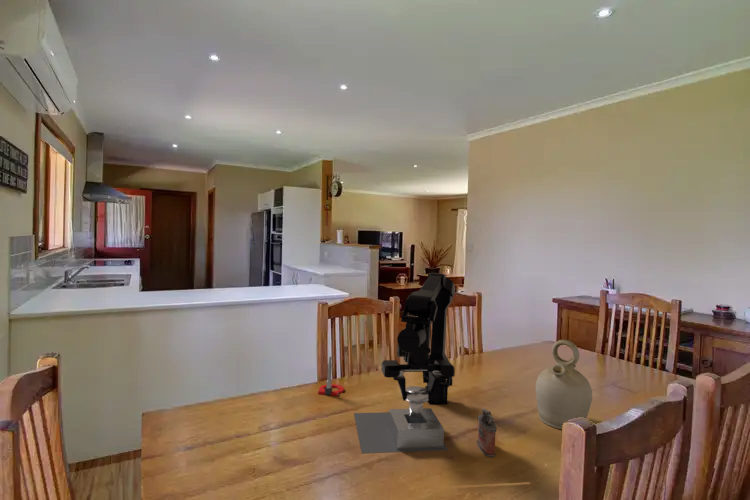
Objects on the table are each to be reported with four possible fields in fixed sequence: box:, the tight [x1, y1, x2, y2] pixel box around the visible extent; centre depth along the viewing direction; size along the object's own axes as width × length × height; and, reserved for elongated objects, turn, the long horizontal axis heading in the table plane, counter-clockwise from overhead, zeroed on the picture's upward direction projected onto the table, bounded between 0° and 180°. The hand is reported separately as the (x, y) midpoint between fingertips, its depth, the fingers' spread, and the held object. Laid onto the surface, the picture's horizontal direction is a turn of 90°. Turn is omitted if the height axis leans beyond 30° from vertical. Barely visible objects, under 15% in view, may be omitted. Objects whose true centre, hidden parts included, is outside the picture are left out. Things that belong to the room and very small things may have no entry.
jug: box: [535, 339, 593, 431], centre depth 122 cm, size 15×16×25 cm
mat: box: [353, 411, 449, 454], centre depth 112 cm, size 22×22×1 cm
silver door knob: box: [405, 385, 429, 418], centre depth 108 cm, size 6×6×6 cm
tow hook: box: [318, 356, 345, 397], centre depth 138 cm, size 8×13×9 cm
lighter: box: [476, 408, 498, 458], centre depth 104 cm, size 8×3×10 cm, turn 5°
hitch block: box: [388, 407, 445, 450], centre depth 109 cm, size 12×12×5 cm
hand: (416, 399), depth 108 cm, fingers closed on silver door knob, 6 cm apart
